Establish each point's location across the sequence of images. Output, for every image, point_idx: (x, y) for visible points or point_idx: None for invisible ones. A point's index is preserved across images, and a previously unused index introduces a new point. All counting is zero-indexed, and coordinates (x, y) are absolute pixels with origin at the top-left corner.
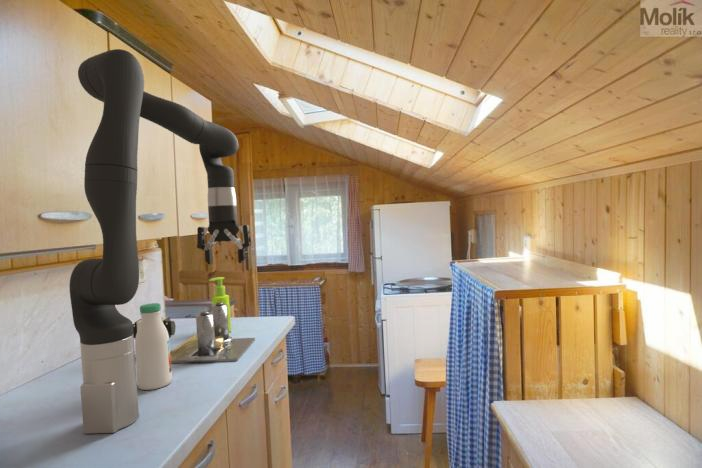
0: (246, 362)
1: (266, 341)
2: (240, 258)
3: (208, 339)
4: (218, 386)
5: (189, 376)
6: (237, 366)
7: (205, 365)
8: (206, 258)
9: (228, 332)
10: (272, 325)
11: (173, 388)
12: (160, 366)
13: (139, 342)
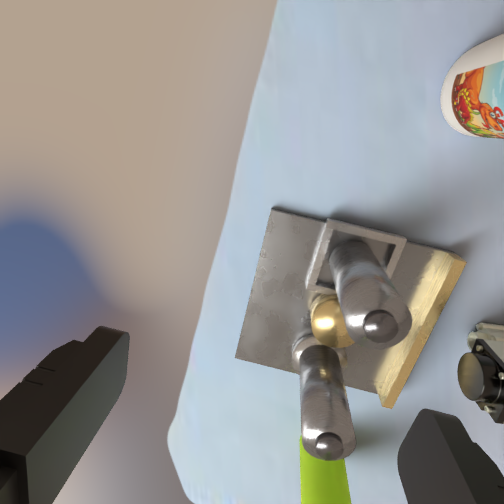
0: (246, 189)
1: (206, 334)
2: (79, 352)
3: (352, 261)
4: (309, 16)
5: (391, 127)
6: (268, 165)
7: (352, 203)
8: (496, 486)
9: (300, 368)
10: (200, 446)
11: (431, 40)
12: (499, 37)
13: None
